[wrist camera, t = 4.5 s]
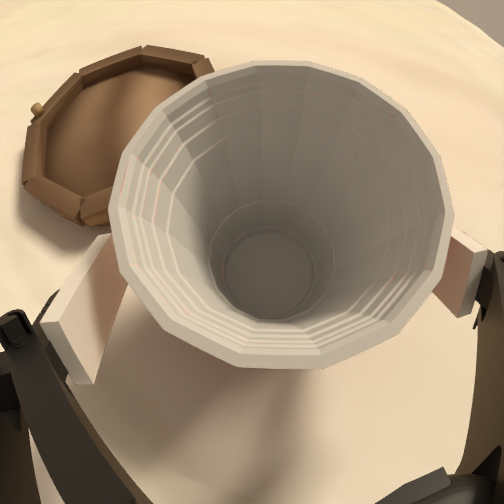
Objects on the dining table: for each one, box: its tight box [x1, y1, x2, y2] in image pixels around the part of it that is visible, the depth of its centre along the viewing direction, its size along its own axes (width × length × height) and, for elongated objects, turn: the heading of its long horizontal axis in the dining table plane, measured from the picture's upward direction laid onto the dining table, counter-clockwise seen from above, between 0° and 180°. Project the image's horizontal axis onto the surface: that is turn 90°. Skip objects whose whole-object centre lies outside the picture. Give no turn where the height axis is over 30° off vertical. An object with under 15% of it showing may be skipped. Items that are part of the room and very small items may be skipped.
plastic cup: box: [108, 61, 454, 369], centre depth 14 cm, size 11×11×12 cm
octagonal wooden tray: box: [22, 45, 215, 227], centre depth 22 cm, size 17×17×4 cm
